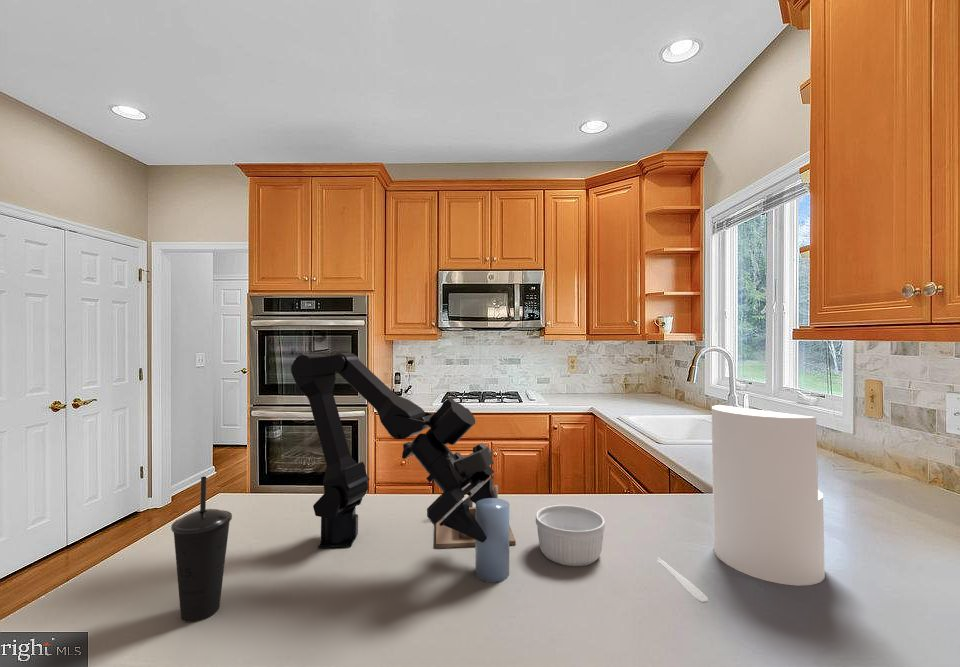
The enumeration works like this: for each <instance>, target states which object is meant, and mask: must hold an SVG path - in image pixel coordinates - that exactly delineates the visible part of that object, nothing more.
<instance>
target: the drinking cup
mask: <svg viewBox="0 0 960 667" xmlns="http://www.w3.org/2000/svg"><path fill="white" fill-rule="evenodd" d="M199 502H200V504H199V505H200V507H199V510H197V511H196V510H195V511H193V512H190V513H188V514H186V515H184V516H183V517H180V518H178V519H176V520H175V521H174V522H173V523H172V524H171V527H170V528H171V532H172V533H173V539H174V541H173V542H174V552H175V562H176V565H175V566H176V575H177V586H178V598H179V610H180V619H181V621H183V622H185V623H196V622H200V621H203V620H206V619H208V618H210V617H211V616H213V615H214V614H216V613H217V612H218V611H219V610H220V604H221V597H222V587H223V580H224V570H225V562H226V556H227V555H226V553H227V547H228V537H229V530H230V522H231V521H232V519H233V514H232V512H231V511H229V510H224V509H216V508H206V506H207V505H206V504H207V476H201V477H200V501H199Z"/></svg>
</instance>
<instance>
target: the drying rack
mask: <svg viewBox="0 0 960 667" xmlns="http://www.w3.org/2000/svg"><path fill="white" fill-rule="evenodd" d="M493 492H494V494H495V497H496V498H498V499H499V486H498V485H497V484H496V485H495V484H493ZM467 496H468V497H467V498H470V497H472V496H473V494H471V495H470V496H469V495H467ZM473 505H474V502H472V501H471V500H470V499H469V510H470V512H471V513H472V515H473V516H474V518H475V519H476V506H473ZM443 520H444V518H442V519H441V520H440V521H439V522H438V523H436V524H435V525H436V526H435V548H436V549H445V548H447V549H449V548H450V549H451V548H452V549H453V548H471V547H472V548H473V547H474V548H475V543H476V539H474V538H472V537H469V536H467V535H465V534H463V533H461V532H459V531H457V530H454V529H452V528H449V527H447V526H444V525H443V526H440V525H439V524H440V523H441V522H442V521H443ZM516 542H517V541H516V538H515V536H514V532H513V531H512V528H511V525H510V524H509V546H516V545H517V544H516Z"/></svg>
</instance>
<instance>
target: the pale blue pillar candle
mask: <svg viewBox="0 0 960 667" xmlns="http://www.w3.org/2000/svg"><path fill="white" fill-rule="evenodd" d="M475 507H476V521H477V522H478V524H479V525H480V527H481V528H482V530H483V532H484V533H485V535H486V537H487V539H486V540H485V541H484V542H483V543H482V542H480V541H478V540H476V543H475V547H474V548H475V551H474V552H475V558H474V559H475V562H474V563H475V564H474V565H475V566H474V568H475V576H476V577H477V578H478V579H479V580H481V581H483V582H485V583H486V582H487V583H501V582H503V581H505V580H506V579H507V578H508V577H510V545H509V525H510V503H509V501H507V500H505V499H502V498H499V497H498V498H486V499H481V500H479V501H477V502H476V504H475Z"/></svg>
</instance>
